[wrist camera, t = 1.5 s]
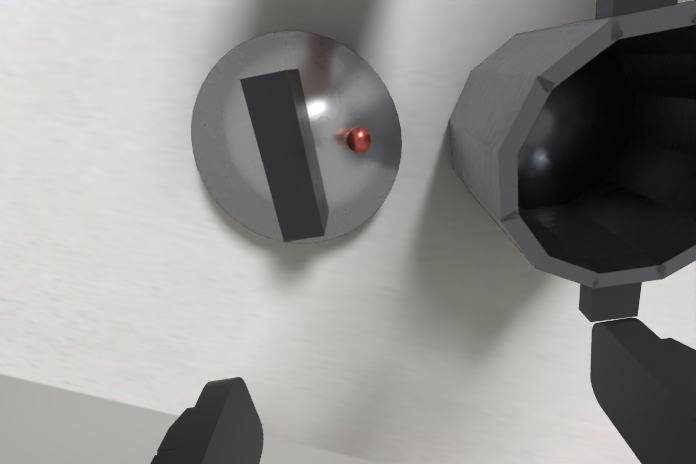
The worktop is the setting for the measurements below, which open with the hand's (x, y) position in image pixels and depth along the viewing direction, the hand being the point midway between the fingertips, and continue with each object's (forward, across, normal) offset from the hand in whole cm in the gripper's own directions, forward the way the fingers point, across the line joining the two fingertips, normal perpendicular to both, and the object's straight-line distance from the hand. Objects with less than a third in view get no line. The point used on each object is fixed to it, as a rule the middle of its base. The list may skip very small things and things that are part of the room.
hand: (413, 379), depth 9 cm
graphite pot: (+20, -11, 0) cm, 23 cm away
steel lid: (+20, +5, -3) cm, 21 cm away
